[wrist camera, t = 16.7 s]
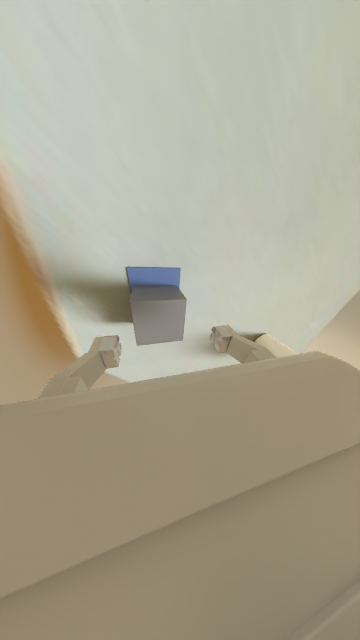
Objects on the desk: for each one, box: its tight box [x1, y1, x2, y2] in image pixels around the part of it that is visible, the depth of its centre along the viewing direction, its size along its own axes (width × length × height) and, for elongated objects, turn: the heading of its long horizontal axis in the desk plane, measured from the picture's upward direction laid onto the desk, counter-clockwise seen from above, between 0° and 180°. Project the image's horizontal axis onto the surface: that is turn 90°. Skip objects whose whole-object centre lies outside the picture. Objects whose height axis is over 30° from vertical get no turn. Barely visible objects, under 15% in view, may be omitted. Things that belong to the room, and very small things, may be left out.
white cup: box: [255, 334, 298, 357], centre depth 30 cm, size 7×7×15 cm
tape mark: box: [127, 267, 180, 293], centre depth 22 cm, size 8×8×1 cm
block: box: [130, 285, 187, 346], centre depth 20 cm, size 7×7×6 cm
